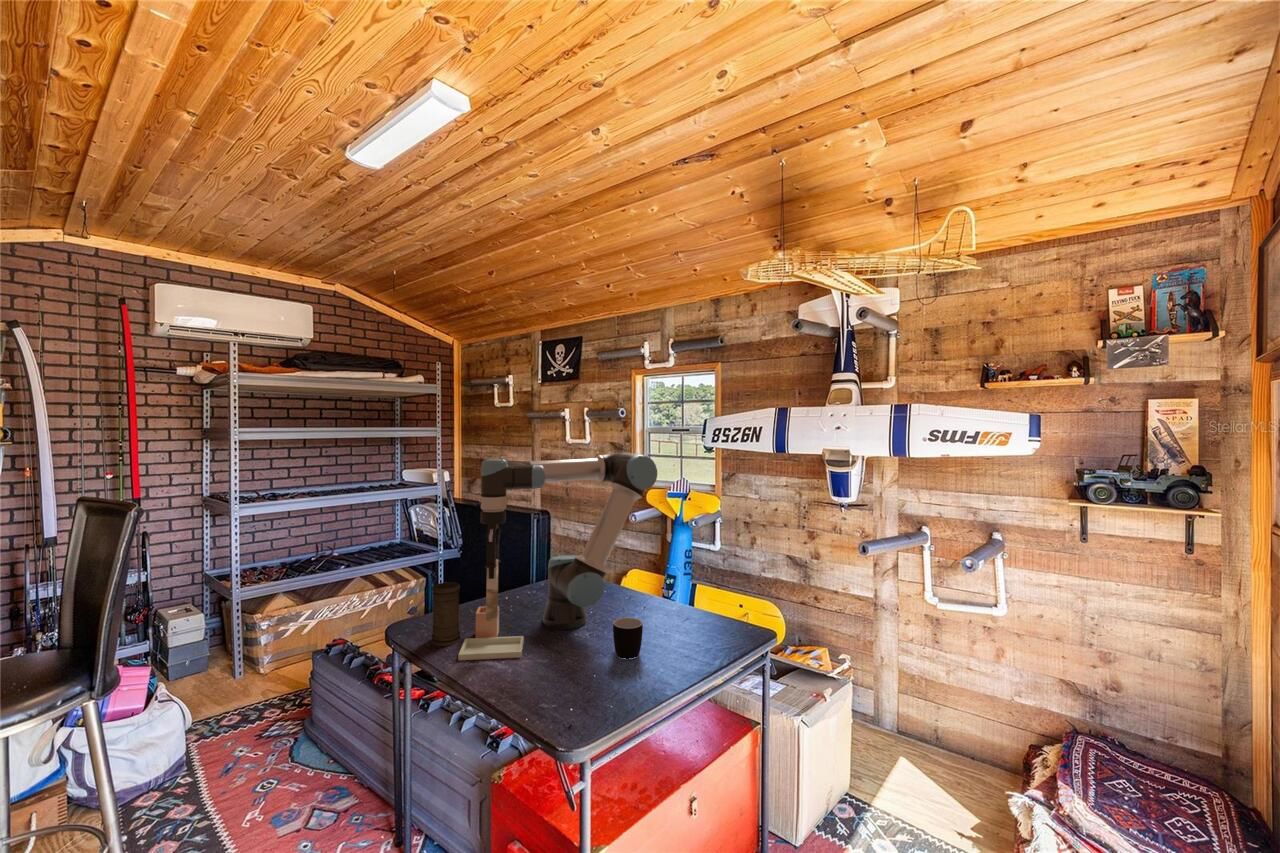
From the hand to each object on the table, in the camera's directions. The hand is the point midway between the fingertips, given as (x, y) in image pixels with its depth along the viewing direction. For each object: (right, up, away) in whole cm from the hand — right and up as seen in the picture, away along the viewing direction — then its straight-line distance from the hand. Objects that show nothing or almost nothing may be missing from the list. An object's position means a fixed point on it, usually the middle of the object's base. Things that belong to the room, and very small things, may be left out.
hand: (492, 586), depth 169 cm
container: (-17, -20, +8) cm, 27 cm away
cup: (-5, -20, +12) cm, 24 cm away
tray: (0, -20, 0) cm, 20 cm away
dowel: (0, -10, 0) cm, 10 cm away
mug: (+40, -21, 0) cm, 45 cm away
